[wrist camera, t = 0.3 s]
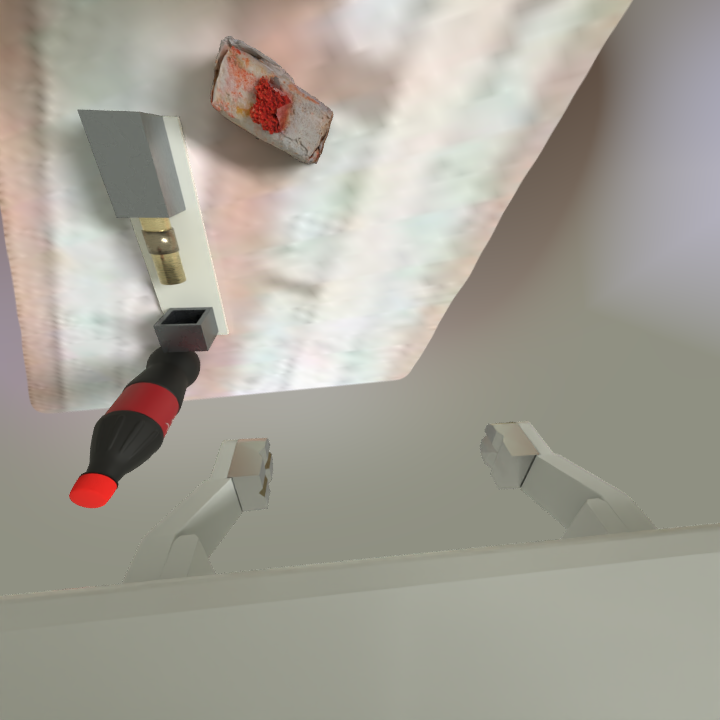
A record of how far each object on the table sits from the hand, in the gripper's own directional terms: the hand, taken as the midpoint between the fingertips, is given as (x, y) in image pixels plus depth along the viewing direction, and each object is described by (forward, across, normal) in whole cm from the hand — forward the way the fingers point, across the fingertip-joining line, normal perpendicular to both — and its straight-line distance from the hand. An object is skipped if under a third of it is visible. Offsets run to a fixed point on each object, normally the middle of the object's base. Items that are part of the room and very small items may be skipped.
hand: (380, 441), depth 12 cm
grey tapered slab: (+46, +25, -6) cm, 53 cm away
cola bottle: (+47, +30, +25) cm, 61 cm away
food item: (+47, +7, -13) cm, 49 cm away
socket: (+46, +25, +17) cm, 55 cm away
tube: (+44, +25, -1) cm, 51 cm away
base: (+47, +25, +4) cm, 53 cm away
